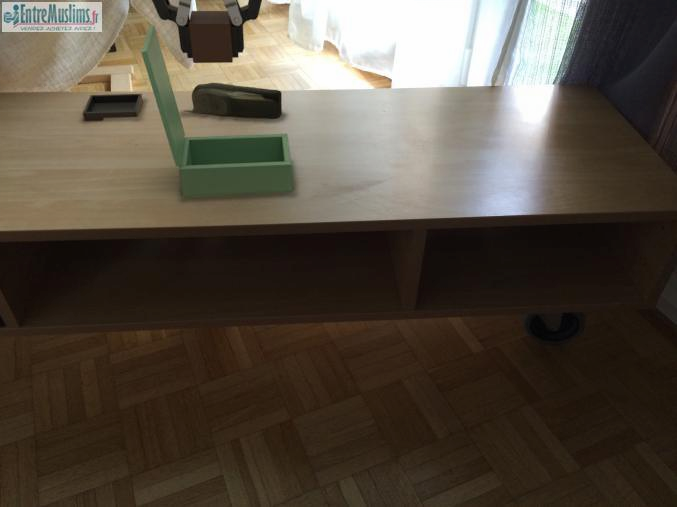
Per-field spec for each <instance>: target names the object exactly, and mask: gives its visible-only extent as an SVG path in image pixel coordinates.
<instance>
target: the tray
mask: <svg viewBox="0 0 677 507" xmlns="http://www.w3.org/2000/svg"><path fill="white" fill-rule="evenodd" d="M143 103H144V100H143V95H142V93H120V94H119V93H117V94H116V93H115V94H90V96H89V98H88V100H87V103H86V105H85V107H84V110H83V112H82V116H83V120H84V122H95V121H97V122H98V121H104V119H109V118H110V119H111V118H113V119H114V118H138V117H139V113H141V109H142V105H143Z"/></svg>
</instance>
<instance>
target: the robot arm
mask: <svg viewBox="0 0 677 507" xmlns="http://www.w3.org/2000/svg"><path fill="white" fill-rule="evenodd" d="M151 1H152V3H153V4H152V5H153V6H154V8H155V10H156V13H157V15H158V17H159V18H160V19H161V21H167V20H168V21H170V22H173V23H175V24H176V26H177V30H178V31H177V32H178V39H179V46H180V50H181V52H182V53H183V54H186V58H187V59H193V56H192V48H191V39H190V30H189V21H190V10H191V7H192V6H191V5H192V1H193V0H179V1H178V6H175V5H172V4H171V1H170V0H151ZM262 1H263V0H247V4H246V5H243V6H241V4H240V2H239V0H222V3H223V4H224V7H225V8H226V11H228V14H229V16H230V19H231V25H230V28H231V41H232V55H233V59H238V58H239V57H240V56H239V54H240V53H243V52H244V49H245V38H244V37H245V36H244V24H245V23H246V22H248V21H249V22H250V21H255V20H257V19H258V17H259V14H260V10H261V7H262Z"/></svg>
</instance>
